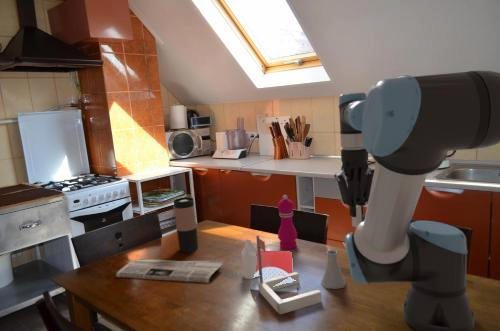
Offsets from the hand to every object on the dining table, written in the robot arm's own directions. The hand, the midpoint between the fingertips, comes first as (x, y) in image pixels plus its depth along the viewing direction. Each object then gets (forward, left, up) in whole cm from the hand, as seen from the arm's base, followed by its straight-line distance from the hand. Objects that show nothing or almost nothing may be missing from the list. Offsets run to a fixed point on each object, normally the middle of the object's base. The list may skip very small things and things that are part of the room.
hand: (356, 226), depth 111 cm
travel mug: (+52, +41, -16) cm, 68 cm away
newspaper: (+34, +51, -17) cm, 64 cm away
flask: (0, +9, -16) cm, 19 cm away
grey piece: (+18, +28, -16) cm, 37 cm away
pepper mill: (+33, +7, -16) cm, 37 cm away
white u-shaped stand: (0, +23, -16) cm, 28 cm away
